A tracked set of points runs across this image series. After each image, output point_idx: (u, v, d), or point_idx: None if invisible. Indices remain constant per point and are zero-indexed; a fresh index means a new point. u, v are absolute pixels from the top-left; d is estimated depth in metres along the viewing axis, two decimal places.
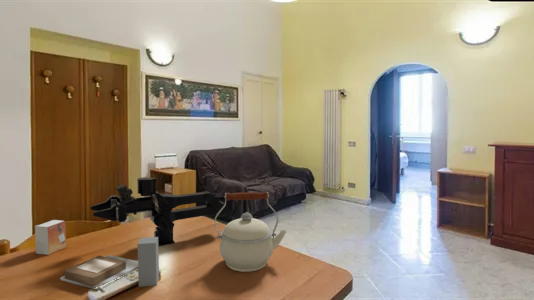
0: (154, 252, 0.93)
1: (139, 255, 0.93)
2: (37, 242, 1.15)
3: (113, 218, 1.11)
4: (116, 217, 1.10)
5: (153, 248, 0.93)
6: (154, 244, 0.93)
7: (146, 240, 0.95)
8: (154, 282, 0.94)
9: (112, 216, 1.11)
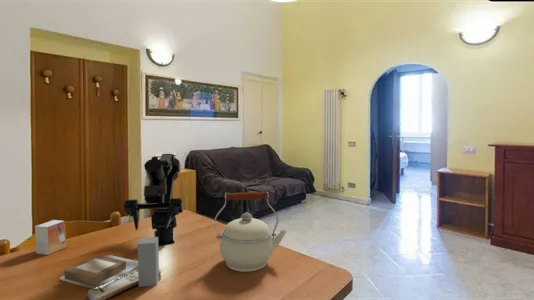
0: (154, 252, 0.93)
1: (139, 255, 0.93)
2: (37, 242, 1.15)
3: (174, 214, 1.09)
4: (178, 211, 1.10)
5: (153, 248, 0.93)
6: (154, 244, 0.93)
7: (146, 240, 0.95)
8: (154, 282, 0.94)
9: (172, 214, 1.09)
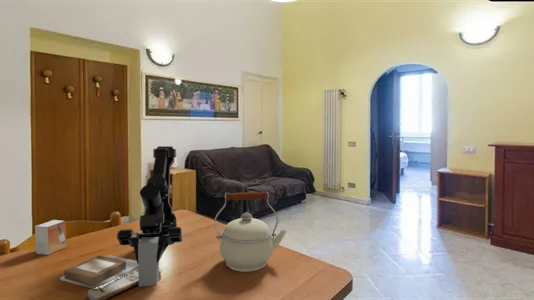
0: (154, 252, 0.93)
1: (139, 255, 0.93)
2: (37, 242, 1.15)
3: (166, 245, 1.00)
4: (171, 241, 1.01)
5: (153, 248, 0.93)
6: (155, 244, 0.93)
7: (147, 240, 0.95)
8: (154, 282, 0.94)
9: (165, 244, 1.00)
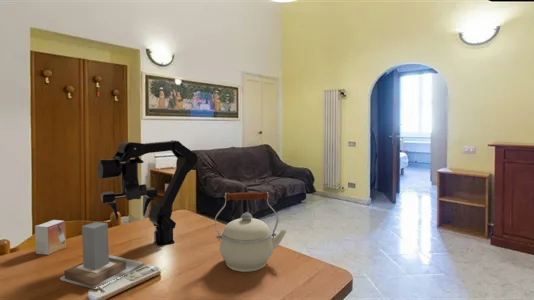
0: (93, 237, 0.95)
1: (83, 237, 0.97)
2: (37, 242, 1.15)
3: None
4: None
5: (92, 233, 0.95)
6: (92, 229, 0.95)
7: (92, 225, 0.98)
8: (93, 266, 0.96)
9: None
